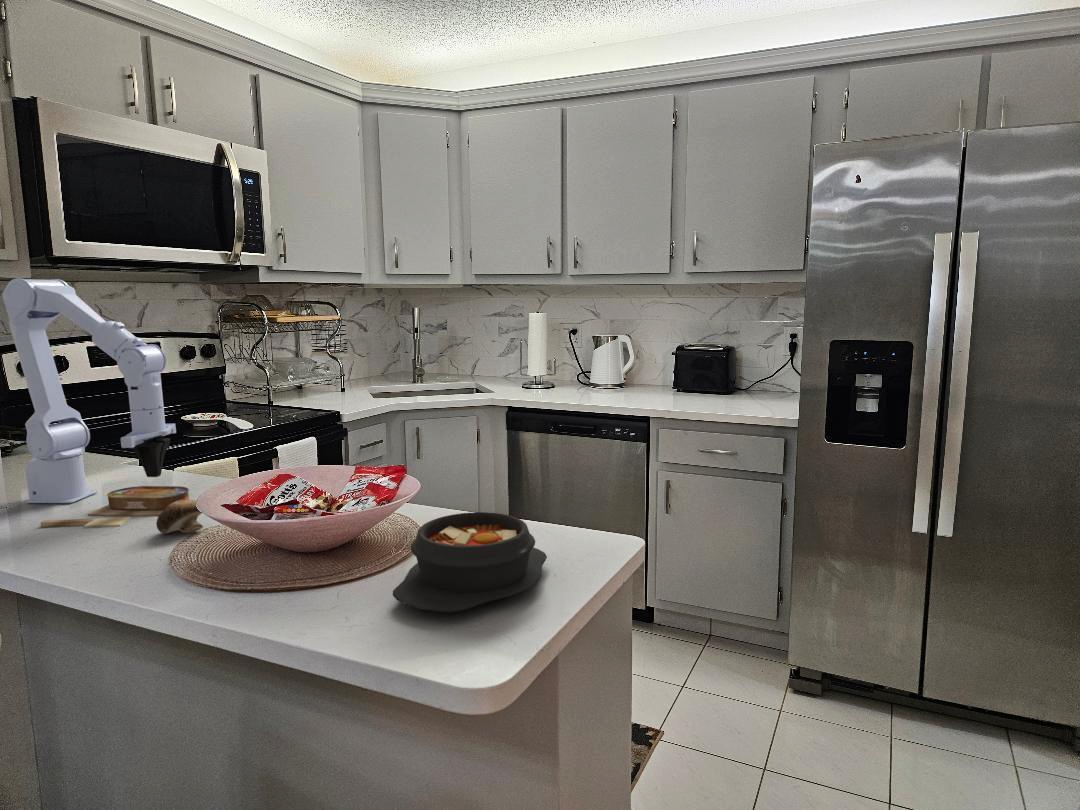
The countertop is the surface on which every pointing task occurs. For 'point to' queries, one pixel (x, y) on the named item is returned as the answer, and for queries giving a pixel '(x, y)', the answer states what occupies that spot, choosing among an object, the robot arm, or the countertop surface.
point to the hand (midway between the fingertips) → (153, 476)
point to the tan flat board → (124, 512)
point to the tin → (146, 497)
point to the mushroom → (179, 517)
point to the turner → (87, 522)
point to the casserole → (470, 562)
